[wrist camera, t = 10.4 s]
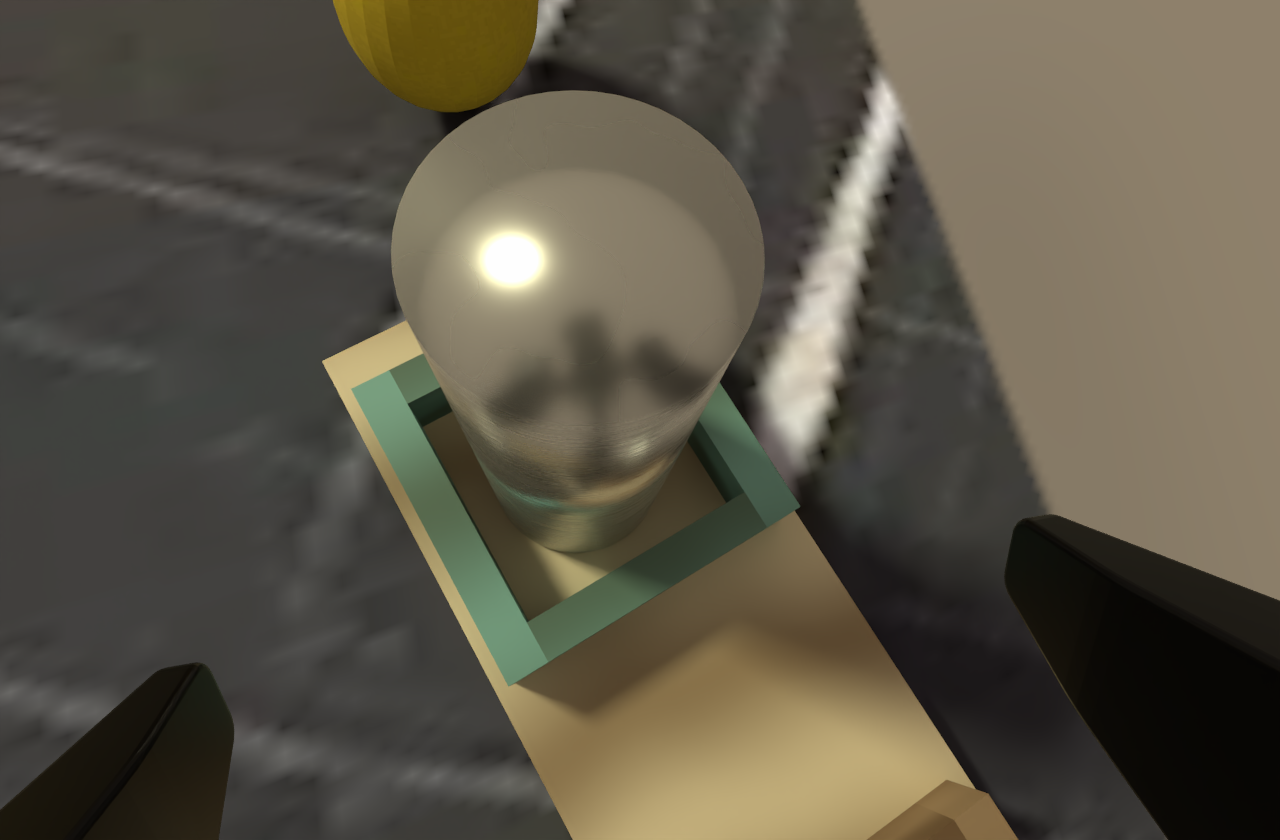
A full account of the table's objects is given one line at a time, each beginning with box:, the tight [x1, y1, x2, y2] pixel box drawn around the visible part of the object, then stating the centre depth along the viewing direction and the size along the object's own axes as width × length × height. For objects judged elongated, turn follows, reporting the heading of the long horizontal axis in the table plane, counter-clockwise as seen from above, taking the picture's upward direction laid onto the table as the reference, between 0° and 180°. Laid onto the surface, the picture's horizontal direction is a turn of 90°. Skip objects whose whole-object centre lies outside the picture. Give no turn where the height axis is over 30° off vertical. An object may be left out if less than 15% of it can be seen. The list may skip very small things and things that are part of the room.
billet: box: [391, 90, 765, 553], centre depth 15 cm, size 4×4×12 cm
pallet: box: [322, 320, 1018, 840], centre depth 19 cm, size 26×9×3 cm, turn 31°
